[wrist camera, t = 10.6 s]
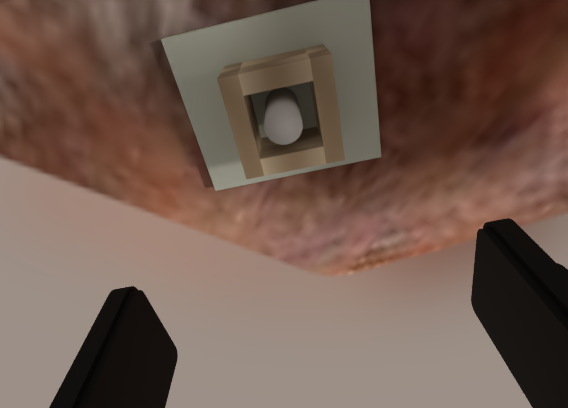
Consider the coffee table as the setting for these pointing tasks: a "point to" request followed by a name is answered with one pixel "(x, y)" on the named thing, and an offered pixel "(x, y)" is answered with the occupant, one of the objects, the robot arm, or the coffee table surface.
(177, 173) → the coffee table surface
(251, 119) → the ring
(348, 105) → the post block
